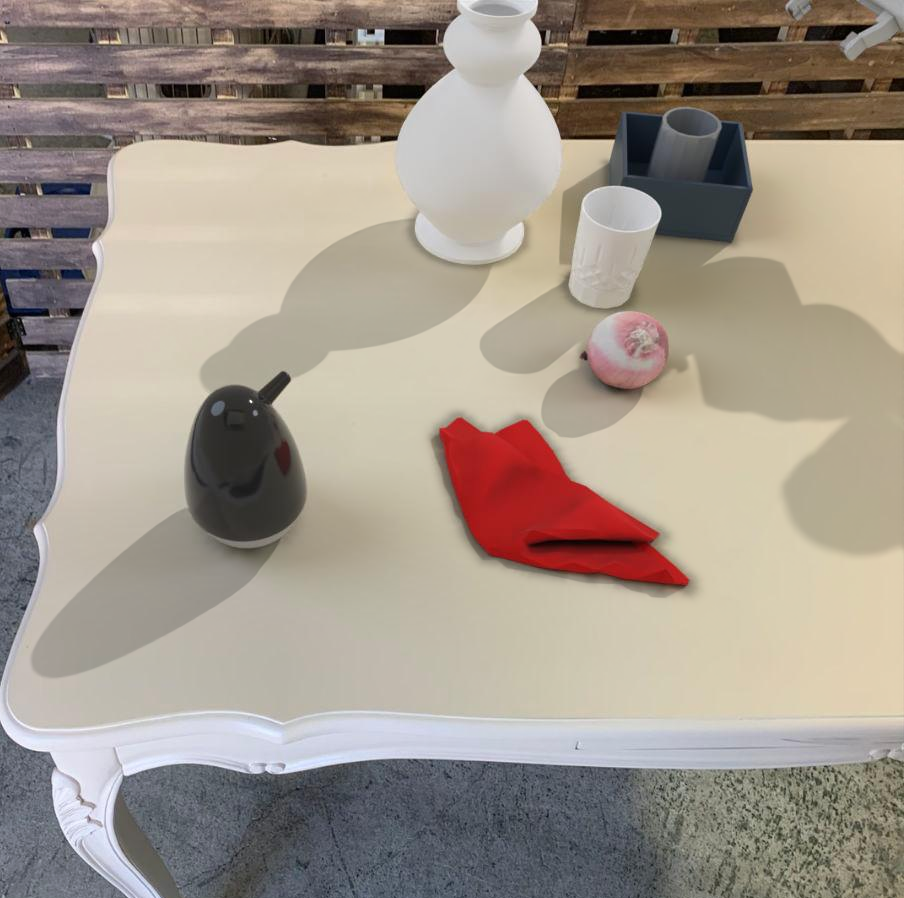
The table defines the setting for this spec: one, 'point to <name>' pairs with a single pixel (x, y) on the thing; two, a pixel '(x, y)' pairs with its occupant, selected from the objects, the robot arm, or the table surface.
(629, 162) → the basket
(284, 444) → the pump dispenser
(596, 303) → the white cup
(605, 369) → the onion
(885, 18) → the robot arm
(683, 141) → the steel cup
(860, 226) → the table surface
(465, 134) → the decorative vase
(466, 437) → the cloth
